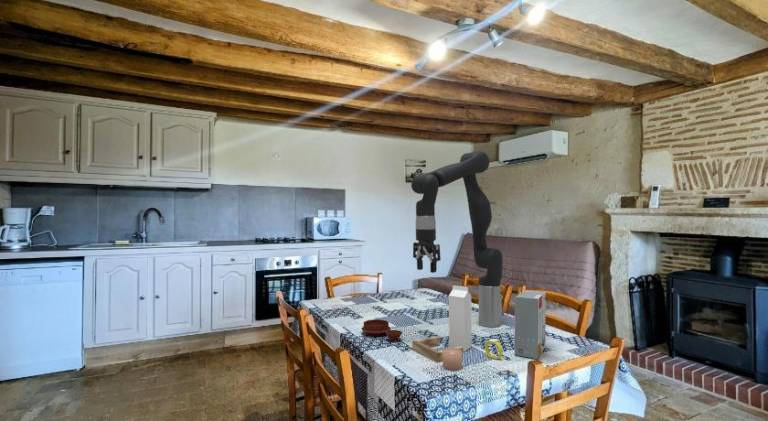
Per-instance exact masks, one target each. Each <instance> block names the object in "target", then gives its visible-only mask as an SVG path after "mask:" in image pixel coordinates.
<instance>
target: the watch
mask: <svg viewBox="0 0 768 421" xmlns="http://www.w3.org/2000/svg"><path fill="white" fill-rule="evenodd" d="M490 344H495V346H496V347H497V349H498V356H495V355H492V354H491V352H490V351H489V350H490V349H489V345H490ZM484 351H485V354H486V355H487V357H488V358H491V359H495V360H499V359H500V358H502V355H503V347H502V346H501V344H500V343H499V341H498V339H496V338H490V339H489V340H488V341H487V342H486V343H485V346H484Z"/></svg>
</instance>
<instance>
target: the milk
mask: <svg viewBox="0 0 768 421" xmlns="http://www.w3.org/2000/svg"><path fill="white" fill-rule="evenodd" d="M458 346H461V347H463V353H465V352H466V351H467V350H470V348H472V294H471V293H470V291H469V287H468V286H462V285H452V290H451V291H450V293H449V295H448V348H454V347H458Z"/></svg>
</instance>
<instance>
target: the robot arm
mask: <svg viewBox="0 0 768 421" xmlns="http://www.w3.org/2000/svg"><path fill="white" fill-rule="evenodd" d="M489 167H490V158H489V155H488V154H487V153H486V152H484V151H483V150H482V151H480V150H478V151H472V152H471V151H470V152H465V153H464V154H462V155H461V157H460V159H459V162H455V163H452V164H448V165H445V166H442V167H439V168H437V169H434V170H432V171H429V172H426V173H425V172H424V173H422V174H419V175H416V176H415V177H414V178H413V179H412V180H411V185H410V186H411V190H412V191H413V192H414V193H416V194H418V195H422V199H420V200H418V201H417V202H416V203H415V241H418V242H412V243H413V244H412V257H413V258H415V260H416V269H417V270H418V271H421V270H423V269H424V265H423V264H424V262H423V261H424V260H423V258H424V256H426V257H427V258H428V259H429V261H430V268H429V269H430V270H429V271H430V273H437V263H438V262H439V261H441V259H442V258H441V245H440V244H439V243H438V244H435V243H434V242H435V241H436V240H437V233H436V232H437V226H436V213H435V211H436V209H435V207H436V206H435V205H436V201H437V196H438V192H439V188H442V187H445V186H447V185H449V184H452V183H453V182H456V181H457V180H460V179H463V183H464V188H465V192H466V198H467V203H468V212H469V219H470V223H471V225H470V226H471V231H472V232H471V233H472V242H473V258H474V262H475V264H476V266H477V267H478V268H480V269H487V270H486V274H485V275H483V276H481V277H478V325H480V326H481V327H482V326H483V327H486V328H497V327H498V328H499V327H501V325H503V303H502V301H501V281H502V279H503V264H504V263H503V254H502V251H501V250H500V249H499V248H494V247H488V245H487V233H488V230H489V228H490V226H491V223H492V220H493V216H492V215H493V214H492V208H491V202H490V200H489V198H488V197H487V195H486V194H485V192H483V190H482V188H481V187H480V185H479V183H478V180H477V175H476V174H481V173H485V172H486V171H487V170H488V169H489Z"/></svg>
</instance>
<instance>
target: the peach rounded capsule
mask: <svg viewBox="0 0 768 421" xmlns="http://www.w3.org/2000/svg"><path fill="white" fill-rule="evenodd" d="M442 350H443V361H442V368H443V369H444V370H447V371H453V372H455V371H461V370H462V369H463V357H462V351H461V350H460V349H457V348H449V347H444V348H443V349H442Z"/></svg>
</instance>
